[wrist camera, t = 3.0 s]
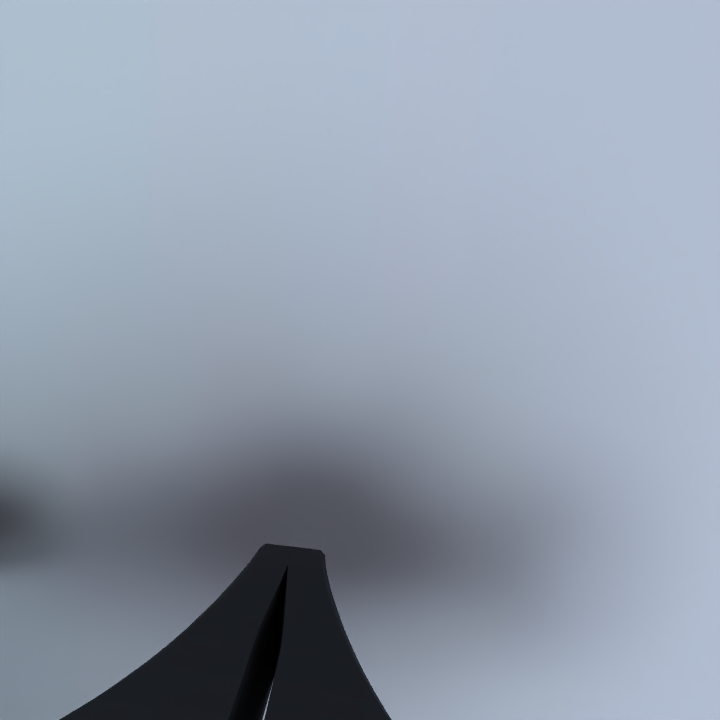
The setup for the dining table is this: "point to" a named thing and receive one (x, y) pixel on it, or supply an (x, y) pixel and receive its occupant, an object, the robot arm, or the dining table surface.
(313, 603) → the robot arm
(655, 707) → the dining table surface
